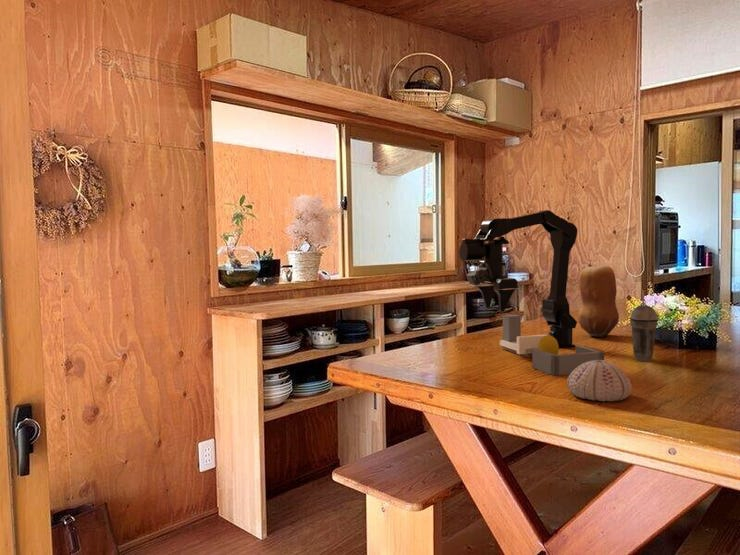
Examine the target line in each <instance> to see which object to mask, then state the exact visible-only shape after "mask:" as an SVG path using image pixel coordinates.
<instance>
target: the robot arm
mask: <svg viewBox="0 0 740 555" xmlns="http://www.w3.org/2000/svg"><path fill="white" fill-rule="evenodd" d="M537 225H541V226H542V228H543V229H544V231H546V232H547V233H549V236H550V237H549V238H550V244H551V246H552V249H553V255H552V256H553V257H552V268H551V278H550V289H549V290H550V291H549V295H548V296H547V298H543V299H542V300H541V302H542V307H541V310H540V312H541V313H542V317H543V318H544V319H545V321H546V323H547V326H550V327H549V332H548V334H549V335H550V336H552V337H554V338H555V339H556V340H557V342H558V347H559V348H569V347H570V348H571V347H576V344H574V343H573V329H576V327H577V324H578V321H577V320H576V318H574V317H573V316H572V314H570V311H571V309H570V303H569V301H568V297H567V286H568V284H567V283H568V274H569V265H570V264H569V263H570V252H571V250H572V249H573V247H574V245H575V244H576V241H577V237H578V227H577V226H576V225H575V223H573V222H569V221H568V220H566V219H564V218H563V217H561V216H559V215H557V214H555V213H554V212H553V211H551V210H549V209H545V210H539V211H537V212H533V213H529V214H523V215H518V216H514V217H509V218H507V217H506V218H504V217H503V218H501V217H500V218H486V219H485V220H483V221H482V222H481V224H480V228H479V230H478V232H477V234H476V235H475V237H474V238H462V239H461V244H460V246H459V250H458V254H459V258H460V260H461V261H462V262H471V261H475V262H476V261H481V260H483V262H481V264H480V268H478V269H476V270H473V271H470V272H468V273H467V274H466V278H467V280H468V283H469V285H473V286H474V288H476V289H477V290H478V291H479V293H481V296H482V300H483V304H484V306H485V309H490V307H491V304H492V299H493V296H494V292H495V293H496V294H497V296H498V297H497V298H498V305H499V310H500V312H504V311H505V310H506V308H507V305H508V304H509V301H510V299H511V297H512V295H513V293H514V292H515V291H516V289H518V288H519V281H518V280H517V279H516V278H512V277H507V275H504V267H507V266H506V265H507V263H506V262H504V249H503V246H504V245H509V244H510V241H508V240H507V239H506V237H504V236H506V235H508V234H509V233H511V232H513V231H515V230H519V229H524V228H528V227H533V226H537ZM496 238H498V239H496Z"/></svg>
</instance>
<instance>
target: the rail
mask: <svg viewBox="0 0 740 555" xmlns="http://www.w3.org/2000/svg"><path fill="white" fill-rule="evenodd" d="M500 348H501V349H502V350H505V351H507V350H508V352H511V353H513V354H516V355H518V356H522V357H525V358H527V359H533V353H530V354H517V351H516V350H513V349H510V348H507V347H504V346H501V345H500Z"/></svg>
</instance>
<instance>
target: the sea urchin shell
mask: <svg viewBox="0 0 740 555" xmlns="http://www.w3.org/2000/svg"><path fill="white" fill-rule="evenodd" d="M566 383H567V384H566V386H567V389H568V390H569V392H570V393H571V394H572V395H573V396H576V398H579V399H583V400H585V399H587V400H589V401H599V402H615V401H616V402H617V401H618V402H619V401H622V400H624V399H625V400H626V399H627V398H628V397H629V395H630V394H631V392H632V390H633V388H632V387H633V385H632V382H631V380H630V378H628V375H627V374H626V372H624V370H622V369H621V367H618V366H617V365H616V364H614V363H612V362H611V361H608V360H605V359H604V360H593V361H589V362H586V363H582V364H581V365H580V366H578V367H577V368H576V369H575V370H574V371H572V373H571V374H568V377H567V380H566Z"/></svg>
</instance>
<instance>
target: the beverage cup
mask: <svg viewBox="0 0 740 555" xmlns="http://www.w3.org/2000/svg"><path fill="white" fill-rule="evenodd" d="M641 295H642V297H641V300H642V301H641V302H642V304H641V305H637V306H636V307H635V308H634V309H633V310H632V311H631V313H630V318H629V321H630V326H631V335H632V336H631V337H632V346H633V347H632V349H633V357H634V358H633V360H635V361H638V362H652V361H653V356H654V348H655V340H656V330H657V326H658V321H659V319H658V314H657V312H656V310H655V309H654V308H653V307H651V306H649V305H645V290H644V289H642V290H641Z"/></svg>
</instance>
